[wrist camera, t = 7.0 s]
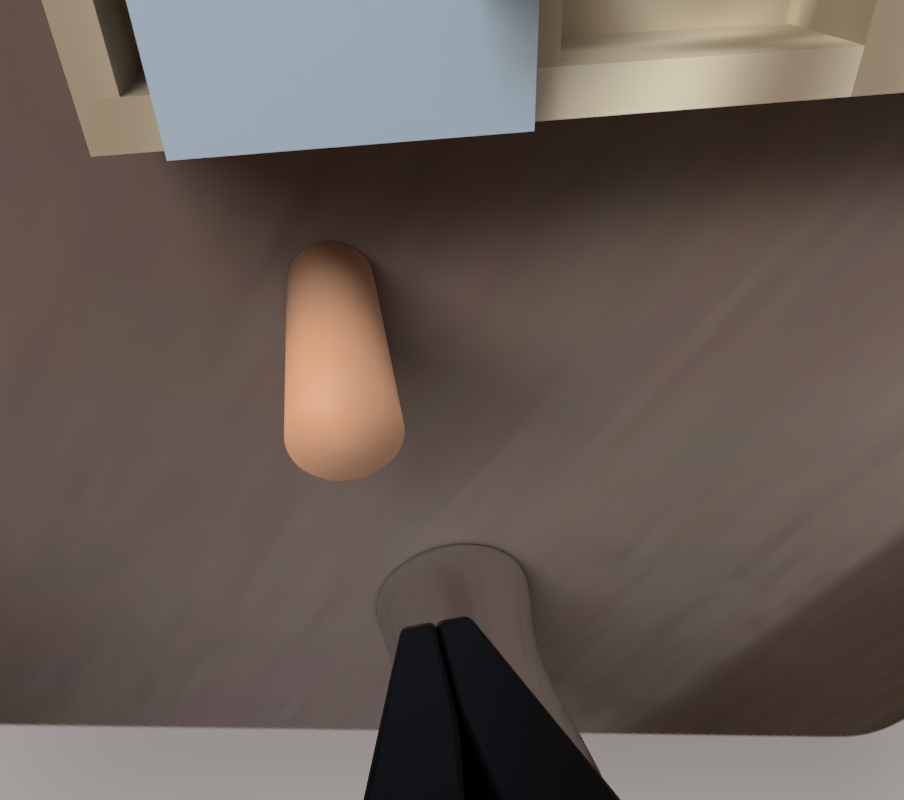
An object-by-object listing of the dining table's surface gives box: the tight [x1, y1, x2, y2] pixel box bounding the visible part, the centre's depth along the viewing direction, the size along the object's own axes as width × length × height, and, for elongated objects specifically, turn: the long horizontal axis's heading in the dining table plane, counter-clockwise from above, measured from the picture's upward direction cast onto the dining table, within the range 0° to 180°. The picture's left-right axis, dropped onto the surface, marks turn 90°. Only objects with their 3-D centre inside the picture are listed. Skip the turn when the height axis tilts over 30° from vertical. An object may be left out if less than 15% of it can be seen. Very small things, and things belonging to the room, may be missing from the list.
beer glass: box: [376, 544, 603, 778], centre depth 23 cm, size 7×7×15 cm
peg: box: [284, 241, 405, 481], centre depth 17 cm, size 2×2×7 cm
